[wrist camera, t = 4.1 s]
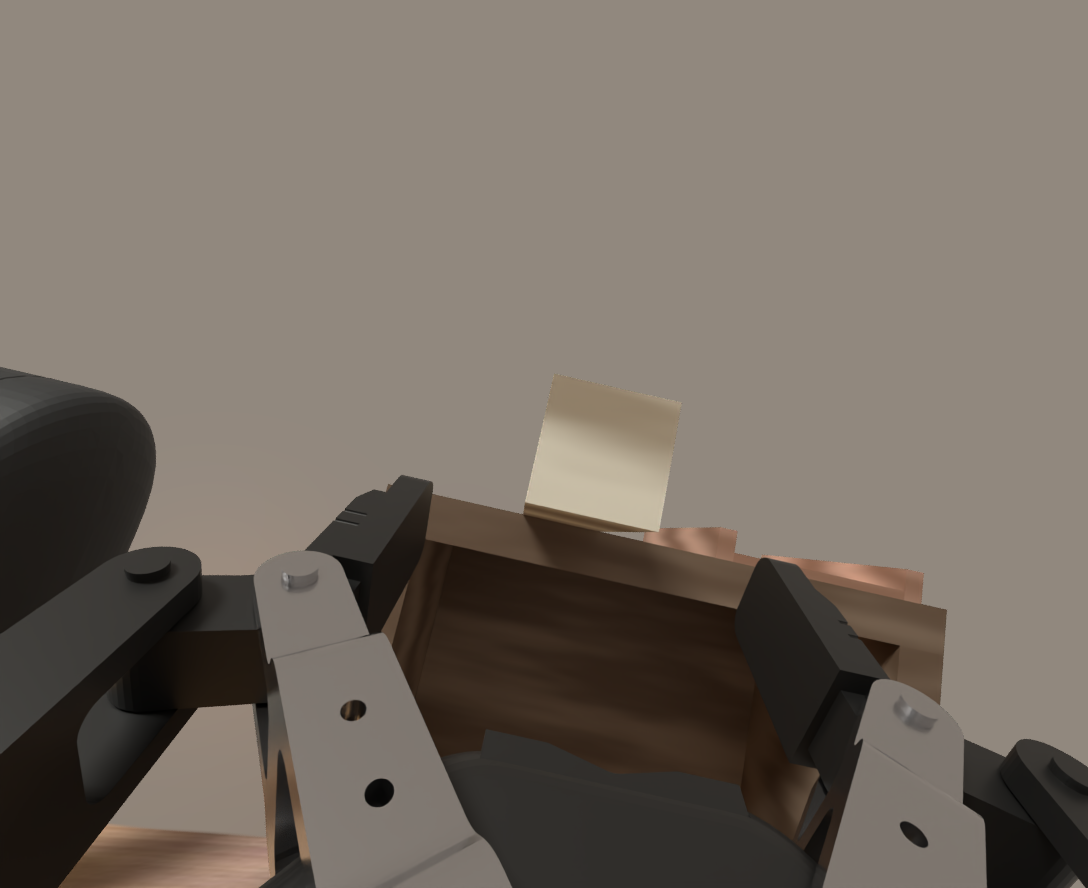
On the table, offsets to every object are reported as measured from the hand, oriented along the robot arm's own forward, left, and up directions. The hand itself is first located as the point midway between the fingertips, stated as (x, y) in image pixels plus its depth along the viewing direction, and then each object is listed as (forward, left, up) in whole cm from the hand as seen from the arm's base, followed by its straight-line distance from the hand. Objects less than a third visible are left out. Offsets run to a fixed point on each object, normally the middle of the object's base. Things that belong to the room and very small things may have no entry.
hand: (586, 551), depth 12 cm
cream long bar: (-6, +11, +1) cm, 13 cm away
